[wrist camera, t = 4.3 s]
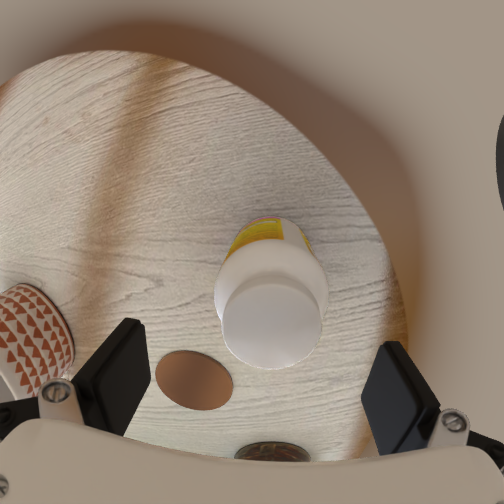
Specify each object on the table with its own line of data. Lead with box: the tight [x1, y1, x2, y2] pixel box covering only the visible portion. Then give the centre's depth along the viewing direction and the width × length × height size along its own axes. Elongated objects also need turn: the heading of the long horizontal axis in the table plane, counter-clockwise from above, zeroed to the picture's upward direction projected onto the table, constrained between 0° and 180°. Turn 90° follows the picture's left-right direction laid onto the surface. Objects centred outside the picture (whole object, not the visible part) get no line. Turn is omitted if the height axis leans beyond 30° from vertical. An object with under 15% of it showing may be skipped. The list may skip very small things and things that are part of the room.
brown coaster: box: [155, 351, 233, 410], centre depth 29 cm, size 9×9×1 cm
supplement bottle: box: [214, 216, 329, 369], centre depth 19 cm, size 7×7×13 cm
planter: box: [0, 284, 74, 403], centre depth 24 cm, size 14×14×13 cm
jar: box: [234, 442, 311, 462], centre depth 26 cm, size 12×12×15 cm
